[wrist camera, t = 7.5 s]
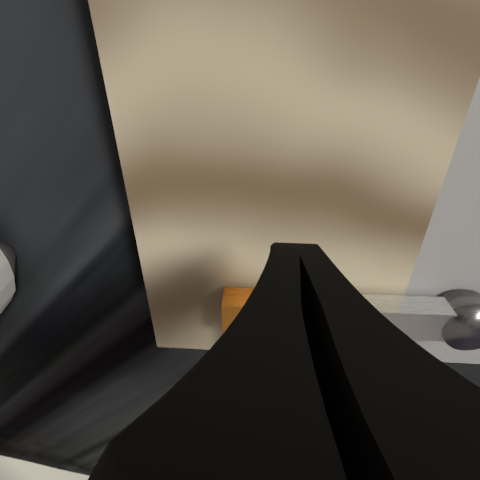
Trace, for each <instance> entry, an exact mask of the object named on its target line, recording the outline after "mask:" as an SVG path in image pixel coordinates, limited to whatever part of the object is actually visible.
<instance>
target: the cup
mask: <svg viewBox="0 0 480 480" xmlns="http://www.w3.org/2000/svg"><path fill="white" fill-rule="evenodd" d="M15 260H16V255H15V253H14V251H13V249H12V248H11V247H9V246H8V245H6V244H5V243H3V242H0V314H1V313H2V311H3V310H4V309H5V308H6V306H7V305H8V304H9V302H10V301H11V299H12V297H13V295H14V293H15V291H16V288H15V279H14V278H15Z"/></svg>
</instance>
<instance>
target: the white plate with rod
mask: <svg viewBox="0 0 480 480" xmlns="http://www.w3.org/2000/svg"><path fill="white" fill-rule="evenodd" d="M463 289H467V290H474V291H477V292H479V293H480V78H479V81H478V84H477V86H476V89H475V92H474V95H473V98H472V101H471V104H470V107H469V110H468V112H467V115H466V118H465V121H464V124H463V127H462V130H461V133H460V136H459V138H458V141H457V144H456V147H455V150H454V153H453V156H452V159H451V162H450V165H449V167H448V170H447V173H446V176H445V179H444V182H443V185H442V188H441V191H440V193H439V196H438V199H437V202H436V205H435V208H434V211H433V214H432V217H431V220H430V222H429V225H428V228H427V231H426V234H425V237H424V240H423V243H422V246H421V248H420V251H419V254H418V257H417V260H416V263H415V266H414V269H413V272H412V274H411V277H410V280H409V283H408V286H407V289H406V292H405V295H408V296H434V297H441V296H443V295H445V294H447V293H449V292H452V291H456V290H463ZM413 341H415V342H416V343H417V344H418V345H420V346H421V347H422V348H424V349H425V350H426V351H428V352H429V353H430V354H432V355H433V356H434V357H436V358H437V359H439V360H440V361H442V362H452V363H471V364H480V349H476V350H457V349H454V348H452V347H450V346H449V345H447V344H446V342H441V341H420V340H413Z"/></svg>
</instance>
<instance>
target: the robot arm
mask: <svg viewBox="0 0 480 480" xmlns="http://www.w3.org/2000/svg"><path fill="white" fill-rule="evenodd" d="M88 480H480V388H479V387H478V386H476V385H475V384H473V383H472V382H470V381H469V380H467V379H466V378H464V377H463V376H461V375H460V374H459V373H457V372H456V371H454V370H453V369H451V368H450V367H449V366H447V365H446V364H444V363H443V362H442V361H440V360H439V359H437V358H436V357H434V356H433V355H432V354H430V353H429V352H428V351H426V350H425V349H424V348H422V347H421V346H420V345H418V344H417V343H416V342H415V341H413V340H412V339H411V338H410V337H409V336H407V335H406V334H405V333H404V332H402V331H401V330H400V329H399V328H398V327H396V326H395V325H394V324H393V323H392V322H390V321H389V320H388V319H387V318H386V317H385V316H384V315H382V314H381V313H380V312H379V311H378V310H377V309H376V308H375V307H374V306H373V305H372V304H371V303H370V302H369V301H368V300H367V299H366V298H365V297H364V296H363V295H362V294H361V293H360V292H359V291H358V290H357V289H356V288H355V287H354V286H353V285H352V284H351V283H350V282H349V280H348V279H347V278H346V277H345V276H344V275H343V274H342V273H341V271H340V270H339V269H338V268H337V267H336V266H335V264H334V263H333V262H332V261H331V260H330V258H329V257H328V256H327V255H326V254H325V252H324V251H323V250H322V249H321V248H320V246H319V245H318V244H305V243H278V242H275V243H273V244H272V245H271V246H270V253H269V257H268V260H267V262H266V265H265V268H264V270H263V272H262V274H261V276H260V278H259V280H258V282H257V284H256V286H255V288H254V289H253V291H252V293H251V294H250V296H249V298H248V299H247V301H246V303H245V304H244V306H243V307H242V309H241V310H240V312H239V313H238V315H237V316H236V317H235V319H234V320H233V321H232V323H231V324H230V325H229V327H228V328H227V329H226V331H225V332H224V333H223V334H222V335H221V337H220V338H219V339H218V340H217V341H216V343H215V344H214V345H213V346H212V347H211V348H210V350H209V351H208V352H207V353H206V354H205V355H204V356H203V357H202V358H201V359H200V360H199V362H198V363H197V364H196V365H195V366H194V367H193V368H191V369H190V370H189V371H188V372H187V373H186V374H185V375H184V376H183V377H182V378H181V379H180V380H179V381H178V382H177V383H176V384H175V385H174V386H173V387H172V388H171V389H170V390H169V391H168V392H167V393H166V394H165V395H164V396H162V397H161V398H160V399H159V400H158V401H157V402H156V403H154V404H153V405H152V406H151V407H150V408H148V409H147V410H146V411H145V412H144V413H142V414H141V415H140V416H139V417H138V418H137V419H135V420H134V421H133V422H132V423H131V424H129V425H128V426H127V427H126V428H125V429H123V430H122V431H121V432H120V433H119V434H117V435H116V436H115V437H114V438H113V439H112V440H111V441H110V442H109V444H108V445H107V447H106V448H105V450H104V452H103V454H102V455H101V457H100V459H99V460H98V462H97V464H96V466H95V467H94V469H93V471H92V473H91V475H90V477H89V479H88Z"/></svg>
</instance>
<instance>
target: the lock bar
mask: <svg viewBox="0 0 480 480" xmlns="http://www.w3.org/2000/svg"><path fill="white" fill-rule="evenodd" d="M253 289H254V288H238V287H224V293H223V299H222V305H221V310H222V330H223V333H224V332H225V331H226V329H227V328H228V327H229V325H230V324H231V323H232V321H233V320H234V319H235V317H236V316H237V315H238V313H239V312H240V310H241V309H242V307H243V306H244V304H245V303H246V301H247V299H248V298H249V296H250V294H251V293H252V291H253ZM362 295H363V296H364V297H365V298H366V299H367V300H368V301H369V302H370V303H371V304H372V305H373V306H374V307H375V308H376V309H377V310H378V311H379V312H380V313H381V314H382V315H384V316H385V317H386V318H387V319H388V320H389V321H390V322H392V323H393V324H394V325H395V326H396V327H398V328H399V329H400V330H401V331H402V332H404V333H405V334H406V335H407V336H409V337H410V338H411V339H412V340H420V341H441V342H446V344H447V345H449V346H450V347H452V348H454V349H457V350H476V349H480V293H479V292H477V291H474V290H467V289H463V290H456V291H452V292H449V293H447V294H445V295H443V296H441V297H434V296H408V295H382V294H362Z"/></svg>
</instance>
